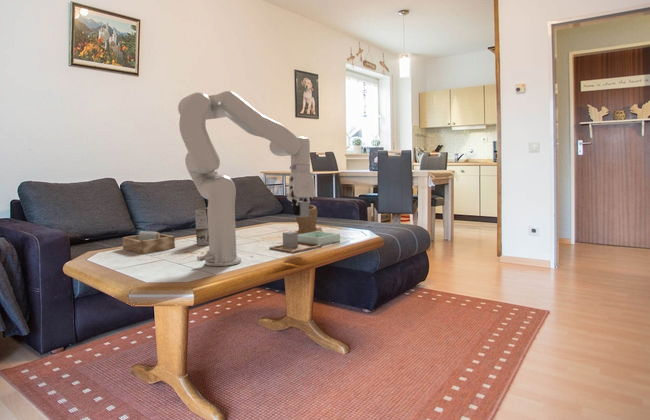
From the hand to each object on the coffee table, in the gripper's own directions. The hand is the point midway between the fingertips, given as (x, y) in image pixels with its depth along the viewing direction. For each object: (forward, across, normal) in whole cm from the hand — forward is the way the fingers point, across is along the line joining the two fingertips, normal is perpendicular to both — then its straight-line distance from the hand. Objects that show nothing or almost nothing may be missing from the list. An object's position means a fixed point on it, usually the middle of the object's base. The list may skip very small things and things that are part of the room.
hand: (301, 214), depth 175 cm
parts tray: (+15, 0, +4) cm, 15 cm away
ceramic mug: (+16, -35, +58) cm, 70 cm away
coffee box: (+15, -14, +48) cm, 52 cm away
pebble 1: (+14, 0, +7) cm, 16 cm away
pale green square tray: (+15, +16, +6) cm, 23 cm away
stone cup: (+15, +28, +24) cm, 39 cm away
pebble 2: (+1, 0, 0) cm, 1 cm away
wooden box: (+15, -36, +58) cm, 70 cm away
